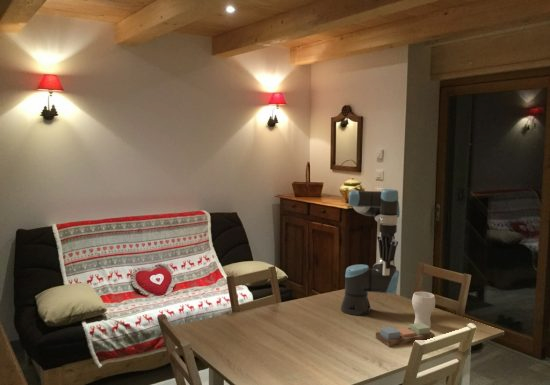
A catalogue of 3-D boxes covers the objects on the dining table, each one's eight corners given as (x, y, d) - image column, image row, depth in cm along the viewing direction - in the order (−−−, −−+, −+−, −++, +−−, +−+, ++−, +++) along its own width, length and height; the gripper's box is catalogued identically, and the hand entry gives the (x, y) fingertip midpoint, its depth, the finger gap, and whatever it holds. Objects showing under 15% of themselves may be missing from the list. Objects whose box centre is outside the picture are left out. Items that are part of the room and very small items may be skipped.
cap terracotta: (395, 336, 217) (395, 329, 217) (406, 334, 219) (406, 327, 219) (403, 341, 211) (403, 334, 211) (414, 339, 213) (415, 332, 213)
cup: (435, 330, 226) (437, 299, 224) (411, 328, 228) (413, 297, 226) (432, 322, 236) (434, 292, 235) (410, 320, 238) (411, 290, 237)
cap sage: (410, 330, 220) (410, 324, 219) (421, 329, 222) (421, 322, 221) (418, 335, 214) (419, 329, 214) (429, 333, 216) (430, 327, 216)
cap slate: (380, 335, 214) (380, 328, 213) (391, 333, 216) (391, 326, 216) (388, 340, 208) (388, 333, 208) (399, 338, 210) (400, 331, 210)
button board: (388, 346, 206) (388, 341, 206) (375, 337, 215) (375, 332, 215) (434, 339, 215) (434, 334, 215) (420, 331, 224) (420, 326, 224)
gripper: (373, 221, 223) (371, 271, 226) (389, 226, 211) (387, 279, 214) (387, 221, 226) (384, 270, 229) (404, 225, 214) (401, 278, 217)
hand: (385, 274), depth 221 cm, fingers closed
